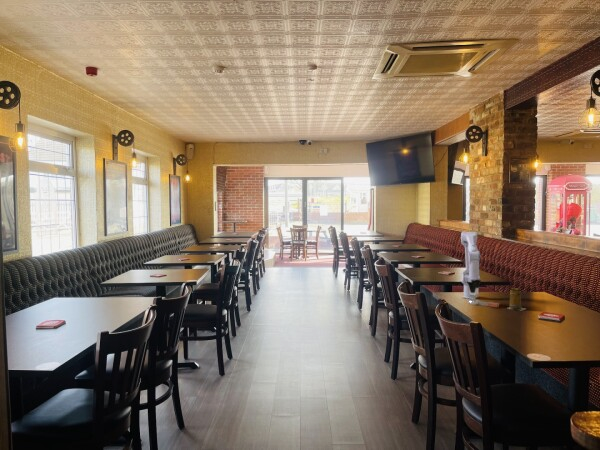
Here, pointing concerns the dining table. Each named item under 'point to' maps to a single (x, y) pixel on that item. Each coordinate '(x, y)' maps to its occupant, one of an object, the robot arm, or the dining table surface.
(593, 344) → the dining table surface
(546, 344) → the dining table surface
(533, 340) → the dining table surface
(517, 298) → the condiment
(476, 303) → the metal scoop
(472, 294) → the brushed metal cube
